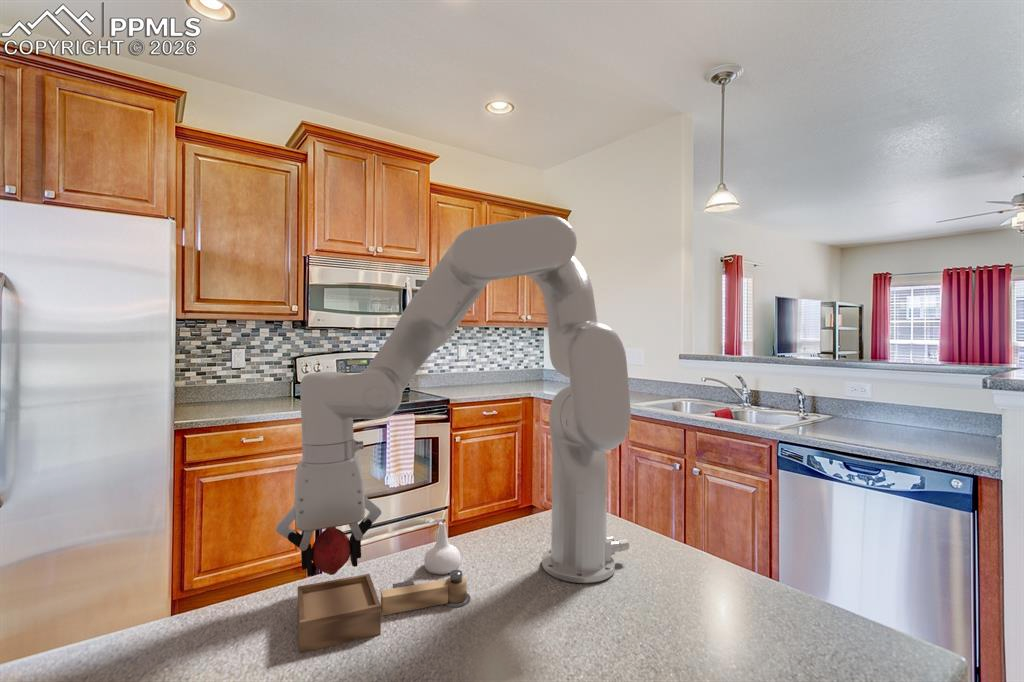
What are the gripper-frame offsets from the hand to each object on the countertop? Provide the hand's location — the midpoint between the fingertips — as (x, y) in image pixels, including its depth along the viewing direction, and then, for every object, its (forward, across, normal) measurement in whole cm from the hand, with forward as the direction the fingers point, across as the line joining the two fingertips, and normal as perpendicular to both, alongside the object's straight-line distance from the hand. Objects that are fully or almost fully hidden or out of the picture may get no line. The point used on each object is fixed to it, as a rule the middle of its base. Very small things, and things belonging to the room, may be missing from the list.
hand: (332, 566), depth 78 cm
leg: (+4, -12, +10) cm, 16 cm away
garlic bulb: (+5, -18, -1) cm, 19 cm away
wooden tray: (+4, 0, +9) cm, 10 cm away
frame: (+5, -13, +9) cm, 17 cm away
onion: (+1, 0, 0) cm, 1 cm away
